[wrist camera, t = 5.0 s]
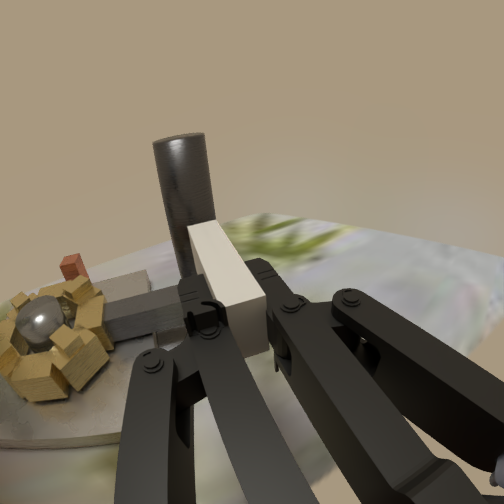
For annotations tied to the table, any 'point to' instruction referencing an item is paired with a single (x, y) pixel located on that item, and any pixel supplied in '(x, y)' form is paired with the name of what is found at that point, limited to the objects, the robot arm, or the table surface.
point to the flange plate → (78, 403)
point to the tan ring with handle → (94, 302)
